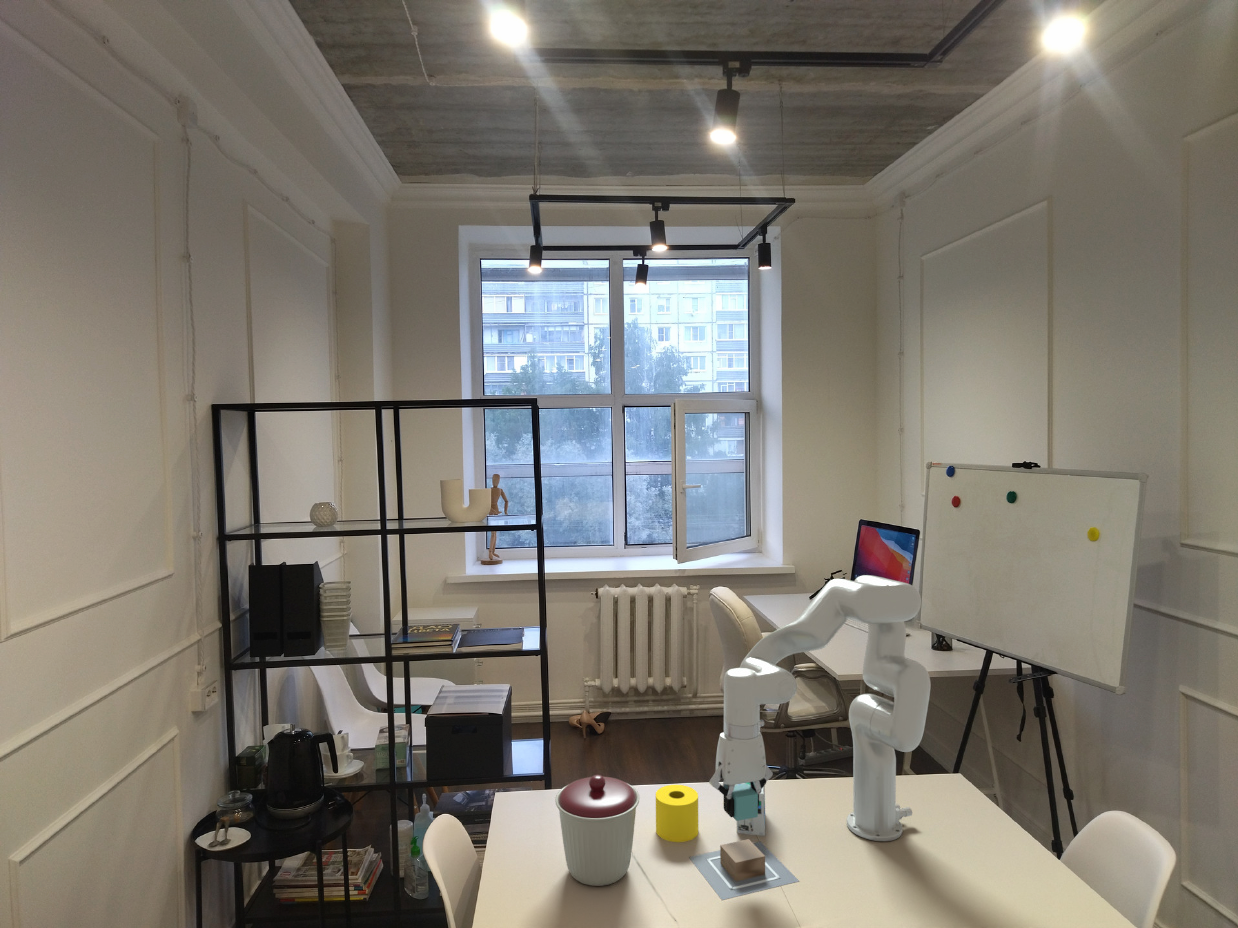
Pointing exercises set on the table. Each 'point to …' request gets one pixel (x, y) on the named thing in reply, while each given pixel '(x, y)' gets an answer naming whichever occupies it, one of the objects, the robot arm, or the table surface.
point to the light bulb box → (754, 819)
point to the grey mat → (730, 888)
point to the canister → (597, 828)
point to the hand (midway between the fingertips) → (741, 810)
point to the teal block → (745, 802)
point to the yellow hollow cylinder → (677, 813)
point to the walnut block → (742, 860)
